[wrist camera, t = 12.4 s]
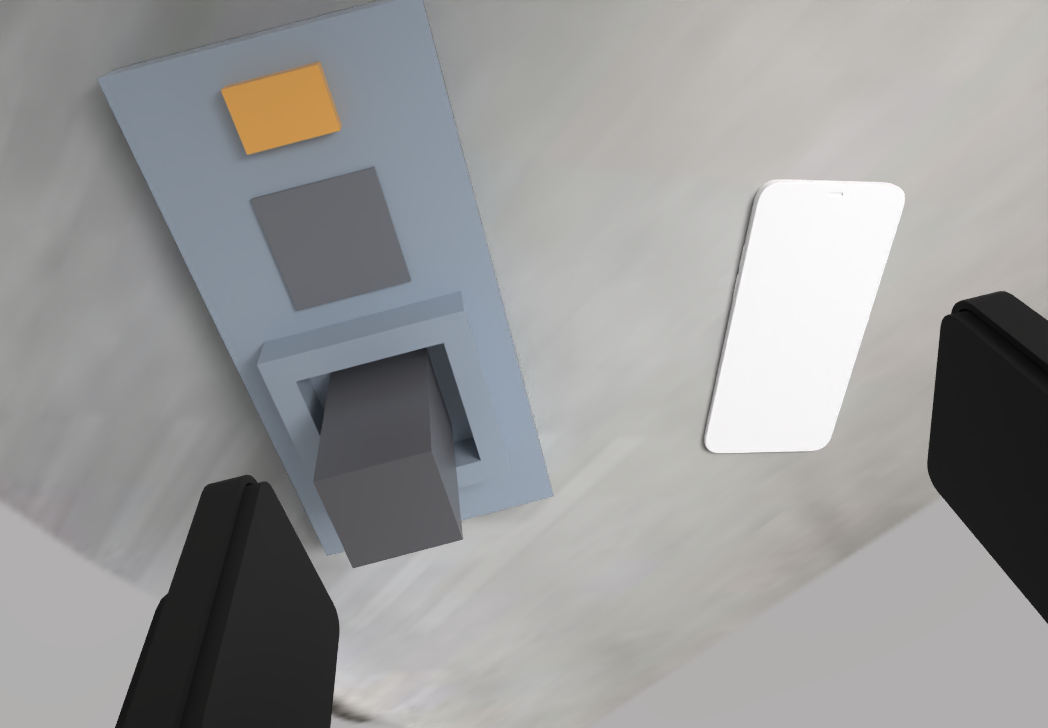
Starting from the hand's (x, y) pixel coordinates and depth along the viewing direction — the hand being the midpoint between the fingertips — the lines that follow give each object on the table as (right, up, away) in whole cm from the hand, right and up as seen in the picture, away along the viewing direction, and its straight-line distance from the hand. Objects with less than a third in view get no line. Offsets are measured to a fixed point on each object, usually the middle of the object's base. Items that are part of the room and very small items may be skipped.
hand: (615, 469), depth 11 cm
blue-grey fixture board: (-8, +4, +25) cm, 27 cm away
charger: (-7, 0, +25) cm, 26 cm away
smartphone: (+12, +4, +29) cm, 32 cm away
